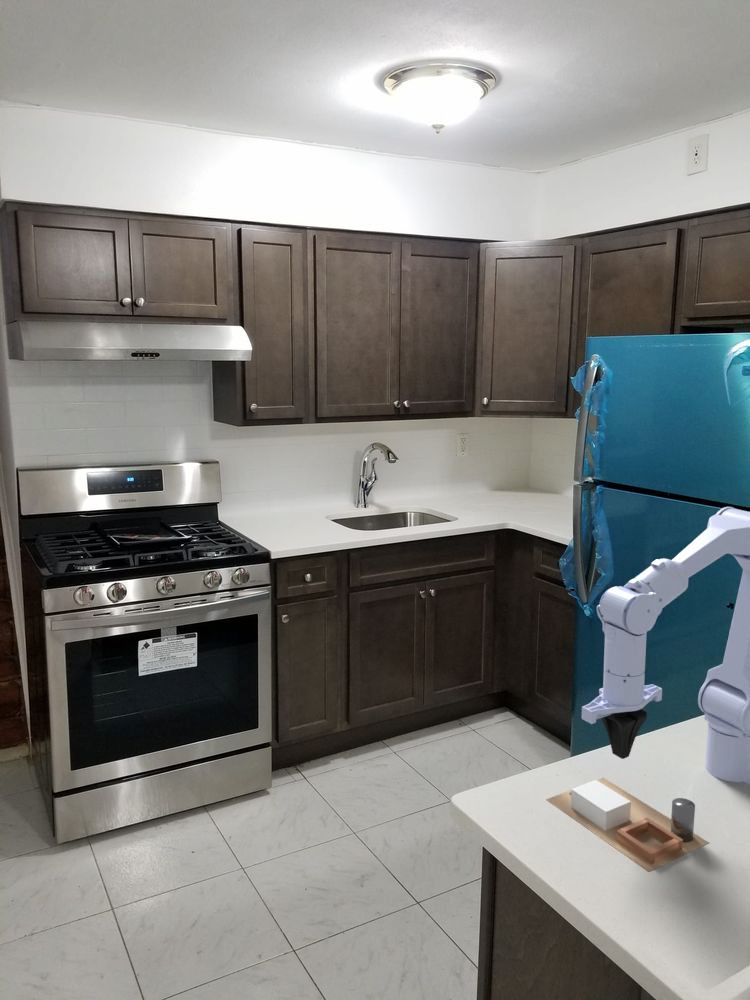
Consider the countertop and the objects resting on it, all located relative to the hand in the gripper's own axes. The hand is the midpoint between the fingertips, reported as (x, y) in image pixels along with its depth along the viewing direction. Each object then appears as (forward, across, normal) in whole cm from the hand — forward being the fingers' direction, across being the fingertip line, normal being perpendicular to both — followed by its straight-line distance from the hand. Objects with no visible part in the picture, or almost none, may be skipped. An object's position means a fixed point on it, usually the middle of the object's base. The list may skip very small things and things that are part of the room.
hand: (620, 755), depth 119 cm
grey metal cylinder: (+8, -2, +10) cm, 13 cm away
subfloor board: (+9, +2, +3) cm, 10 cm away
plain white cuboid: (+8, +4, 0) cm, 9 cm away
